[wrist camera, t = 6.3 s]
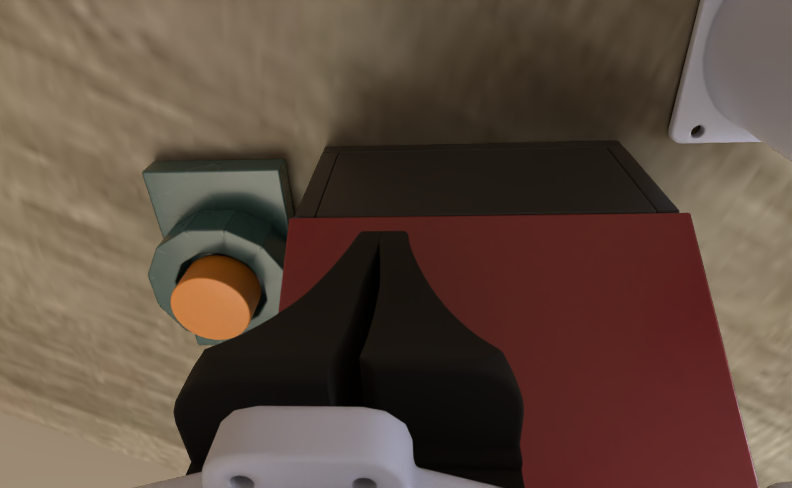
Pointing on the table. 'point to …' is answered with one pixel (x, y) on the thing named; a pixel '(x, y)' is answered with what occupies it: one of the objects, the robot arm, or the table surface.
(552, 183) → the dark open storage box
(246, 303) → the button
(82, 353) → the table surface
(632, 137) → the table surface
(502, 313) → the lid
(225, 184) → the control block
